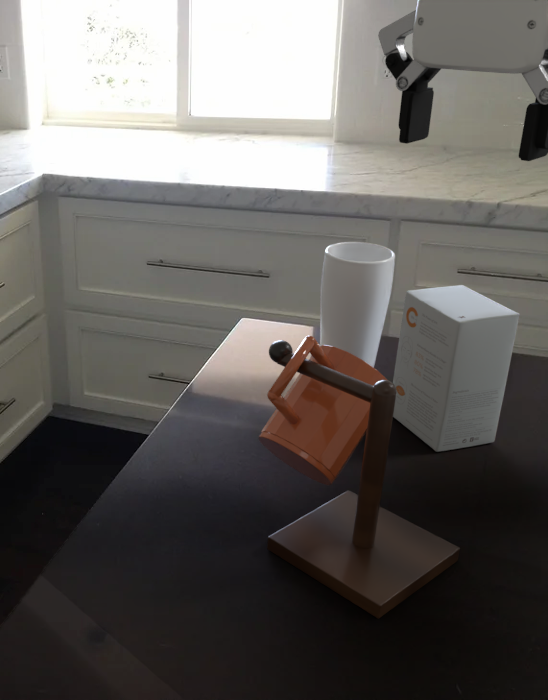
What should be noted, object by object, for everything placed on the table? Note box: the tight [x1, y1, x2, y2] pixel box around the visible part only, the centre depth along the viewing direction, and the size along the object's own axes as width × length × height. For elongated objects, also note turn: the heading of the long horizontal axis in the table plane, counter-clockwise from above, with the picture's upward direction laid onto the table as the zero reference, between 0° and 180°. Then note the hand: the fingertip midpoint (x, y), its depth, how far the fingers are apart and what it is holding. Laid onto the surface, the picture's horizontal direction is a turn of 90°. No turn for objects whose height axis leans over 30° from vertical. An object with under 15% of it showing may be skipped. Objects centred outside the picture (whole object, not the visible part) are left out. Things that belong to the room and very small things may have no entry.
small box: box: [392, 284, 520, 453], centre depth 80 cm, size 8×6×13 cm
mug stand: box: [266, 339, 461, 619], centre depth 65 cm, size 10×15×15 cm, turn 38°
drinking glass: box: [319, 241, 396, 368], centre depth 88 cm, size 7×7×15 cm
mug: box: [257, 335, 388, 486], centre depth 68 cm, size 11×7×9 cm
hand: (470, 148), depth 66 cm, fingers open, 9 cm apart
